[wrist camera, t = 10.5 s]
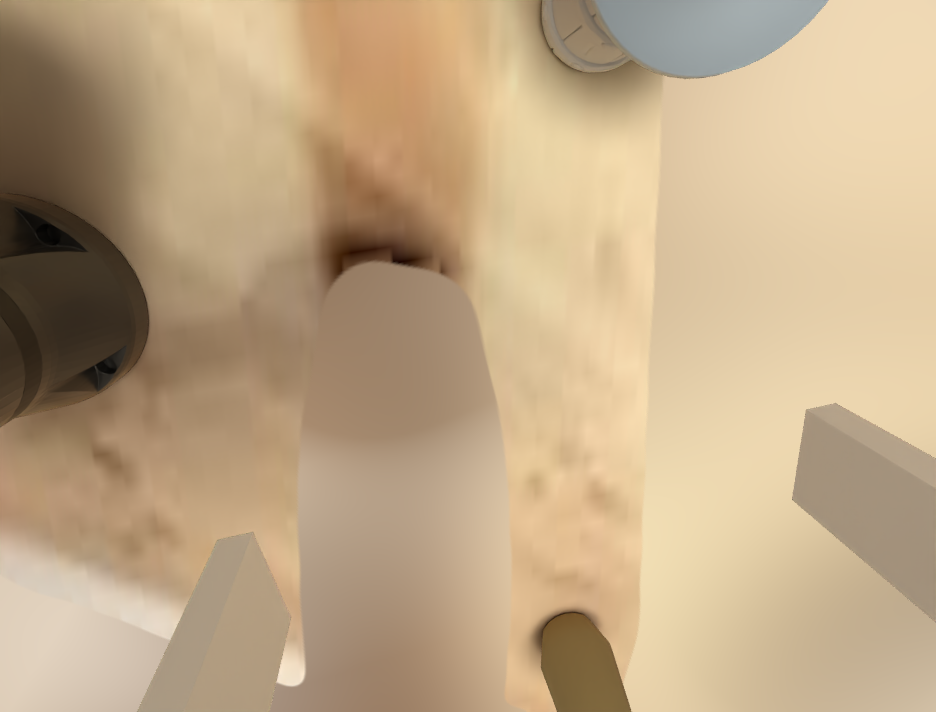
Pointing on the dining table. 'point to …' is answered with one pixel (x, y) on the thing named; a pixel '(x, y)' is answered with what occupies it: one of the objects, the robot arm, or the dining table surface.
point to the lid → (702, 32)
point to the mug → (579, 36)
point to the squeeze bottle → (581, 667)
